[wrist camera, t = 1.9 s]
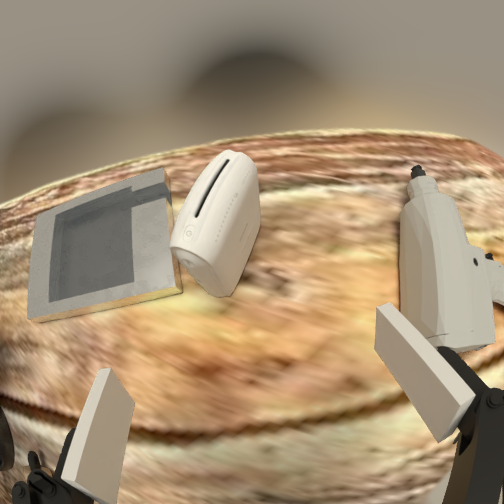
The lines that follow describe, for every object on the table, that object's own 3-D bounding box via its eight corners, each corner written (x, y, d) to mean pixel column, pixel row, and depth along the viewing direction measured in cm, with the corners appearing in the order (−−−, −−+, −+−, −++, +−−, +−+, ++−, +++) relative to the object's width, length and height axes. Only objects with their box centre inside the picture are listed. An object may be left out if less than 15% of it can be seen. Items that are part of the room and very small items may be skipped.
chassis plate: (39, 323, 28) (27, 319, 26) (46, 223, 35) (37, 215, 32) (183, 292, 29) (175, 286, 27) (169, 178, 35) (163, 167, 33)
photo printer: (232, 304, 28) (205, 259, 17) (194, 290, 29) (149, 239, 18) (266, 221, 32) (262, 143, 21) (231, 211, 33) (213, 133, 21)
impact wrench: (510, 195, 29) (407, 138, 26) (540, 335, 20) (449, 354, 17) (480, 217, 36) (374, 177, 33) (501, 346, 27) (392, 362, 24)
